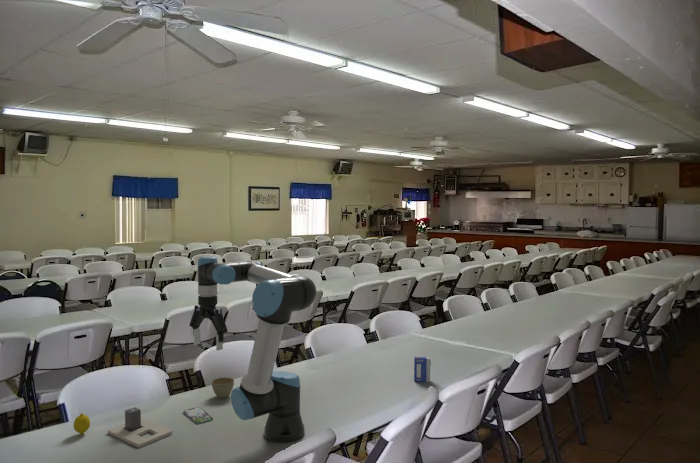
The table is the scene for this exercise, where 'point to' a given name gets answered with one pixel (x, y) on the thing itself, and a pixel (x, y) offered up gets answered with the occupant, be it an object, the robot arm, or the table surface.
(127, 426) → the dark grey rectangular block
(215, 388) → the flower pot
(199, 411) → the smartphone
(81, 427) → the fruit
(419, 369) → the walkman
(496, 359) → the table surface
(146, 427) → the outlet plate
